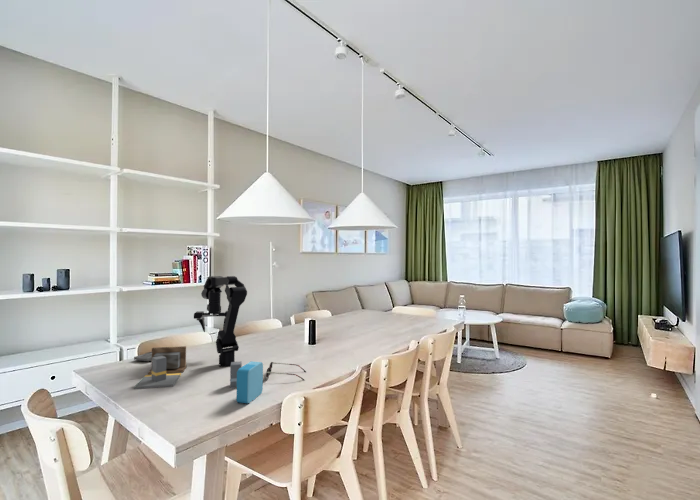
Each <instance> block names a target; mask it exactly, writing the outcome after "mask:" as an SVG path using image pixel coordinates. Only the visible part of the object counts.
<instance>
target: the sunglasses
mask: <svg viewBox="0 0 700 500" xmlns="http://www.w3.org/2000/svg"><path fill="white" fill-rule="evenodd" d="M275 364H277V365H285V363H282V362H273V361H271V362H270V363H269V367H267V369H266V373H265V375H266V381H268V379H269V376H270V375H271V374H278V375H290V376H296V377H298V378H300V379H301V380H302V381H305V379H304V378H303V377H301V376H299V375H298V374H296V373H286V372H285V373H284V372H273V371H272V368H273V365H275ZM286 365H287V366H297V367H299V368H300V369H301V370H302V371H303V372H304V373H307V371H306V370H305V369H304V368H302V366H300V365H299V364H295V363H293V364H292V363H286Z"/></svg>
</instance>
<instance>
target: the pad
mask: <svg viewBox="0 0 700 500" xmlns="http://www.w3.org/2000/svg"><path fill="white" fill-rule="evenodd" d="M181 376H182V373H166V380H162V381H158V382H155V381H153V380H152V374H145V375H144V376H143V377H142V378H141V379H140V380H139V381H138V382H137V384H135V385H134V387H133V389H134V390H138V389H151V388H152V389H153V388H154V389H155V388H169V387H175V384H177V382H178V380H179V379H180V377H181Z"/></svg>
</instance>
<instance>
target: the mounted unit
mask: <svg viewBox="0 0 700 500" xmlns="http://www.w3.org/2000/svg"><path fill="white" fill-rule="evenodd" d="M151 352H152V358H153V357H158V356H164V357H166V374H175V373H181V374H182V373H184V371H185V370H186V368H187V345H185V346H164V347H163V346H162V347H152V348H151ZM150 366H151V368H150V369H149V370H148V372H147V375H152V364H151V365H150Z"/></svg>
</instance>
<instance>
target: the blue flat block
mask: <svg viewBox="0 0 700 500" xmlns="http://www.w3.org/2000/svg"><path fill="white" fill-rule="evenodd" d="M263 378H264V364H263V362H261V361H249V362H248V363H246V364H244V365H243V366H242V367H241V368H239V369H238V371H237V388H236V397H235V398H236V402H237V403H239V404H248V403H249V404H251V403H252V402H253V401H254V400H255V399H256V397H257V396H258V397H259V396H261V394H262V393H263V389H264V388H263V386H264V385H263V384H264V379H263ZM258 397H257V398H258ZM252 400H253V401H252ZM251 401H252V402H251ZM250 402H251V403H250Z"/></svg>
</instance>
